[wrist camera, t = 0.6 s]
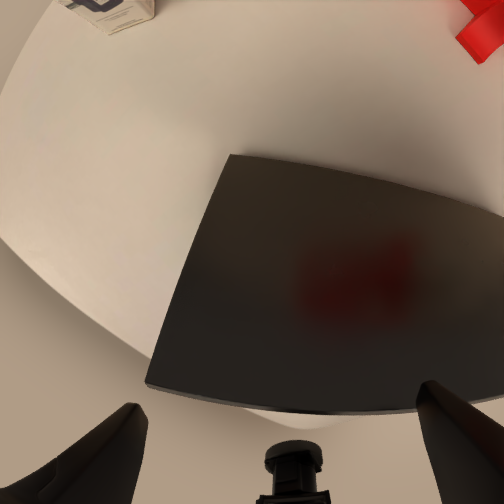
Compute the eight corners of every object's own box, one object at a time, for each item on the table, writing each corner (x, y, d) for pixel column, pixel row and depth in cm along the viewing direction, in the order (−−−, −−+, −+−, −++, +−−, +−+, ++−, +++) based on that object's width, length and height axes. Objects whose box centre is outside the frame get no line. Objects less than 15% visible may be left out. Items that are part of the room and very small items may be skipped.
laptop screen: (566, 376, 8) (573, 371, 7) (148, 388, 8) (143, 382, 8) (502, 223, 18) (505, 217, 18) (229, 162, 19) (229, 153, 18)
